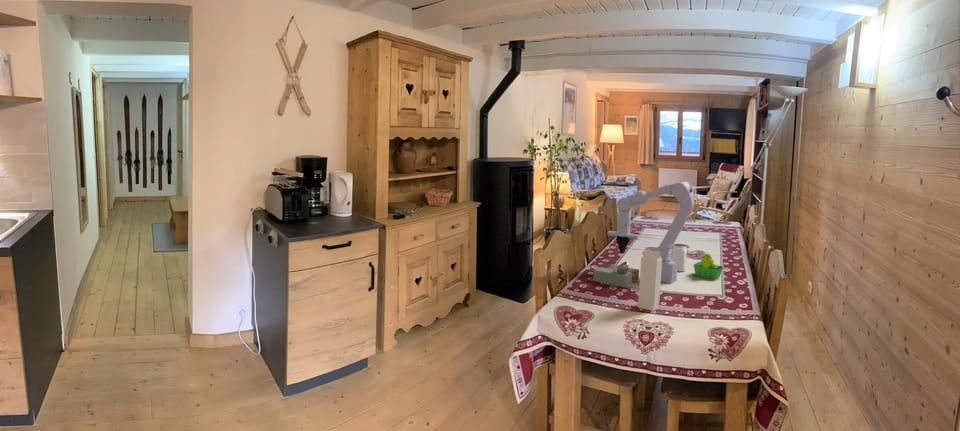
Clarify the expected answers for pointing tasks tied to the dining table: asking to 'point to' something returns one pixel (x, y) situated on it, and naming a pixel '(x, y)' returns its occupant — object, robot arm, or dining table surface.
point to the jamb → (634, 271)
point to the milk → (650, 280)
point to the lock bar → (618, 267)
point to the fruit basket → (707, 268)
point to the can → (679, 256)
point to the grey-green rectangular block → (613, 276)
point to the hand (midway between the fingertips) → (622, 253)
